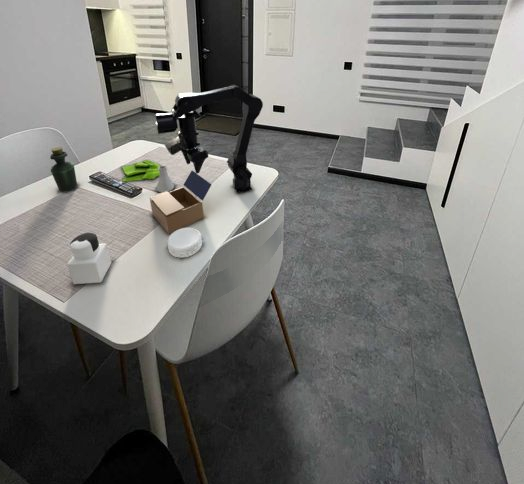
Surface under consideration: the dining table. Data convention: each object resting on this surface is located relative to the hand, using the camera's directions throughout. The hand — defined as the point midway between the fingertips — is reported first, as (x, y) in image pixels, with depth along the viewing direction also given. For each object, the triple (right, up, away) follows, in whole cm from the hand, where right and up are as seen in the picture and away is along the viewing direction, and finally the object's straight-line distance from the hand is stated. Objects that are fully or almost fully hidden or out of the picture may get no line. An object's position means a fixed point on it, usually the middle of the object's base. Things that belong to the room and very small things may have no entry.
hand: (192, 168), depth 108 cm
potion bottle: (-56, -10, +13) cm, 58 cm away
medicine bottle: (-20, -26, -29) cm, 44 cm away
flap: (+2, -5, -4) cm, 7 cm away
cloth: (-31, -4, +27) cm, 41 cm away
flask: (-14, -10, +12) cm, 21 cm away
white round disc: (+2, -22, -19) cm, 30 cm away
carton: (-4, -17, -5) cm, 18 cm away
